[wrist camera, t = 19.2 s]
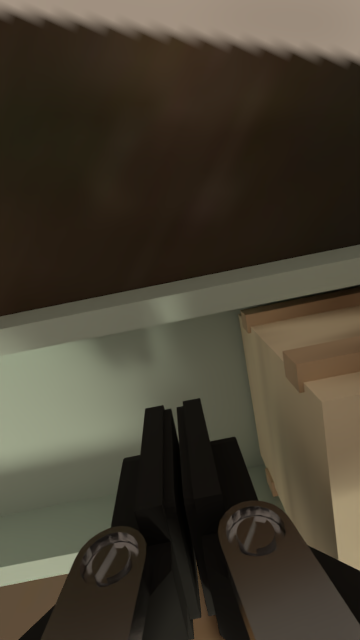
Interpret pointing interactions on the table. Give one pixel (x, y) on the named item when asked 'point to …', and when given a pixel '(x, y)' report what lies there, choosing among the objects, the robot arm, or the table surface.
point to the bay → (126, 395)
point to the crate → (310, 413)
